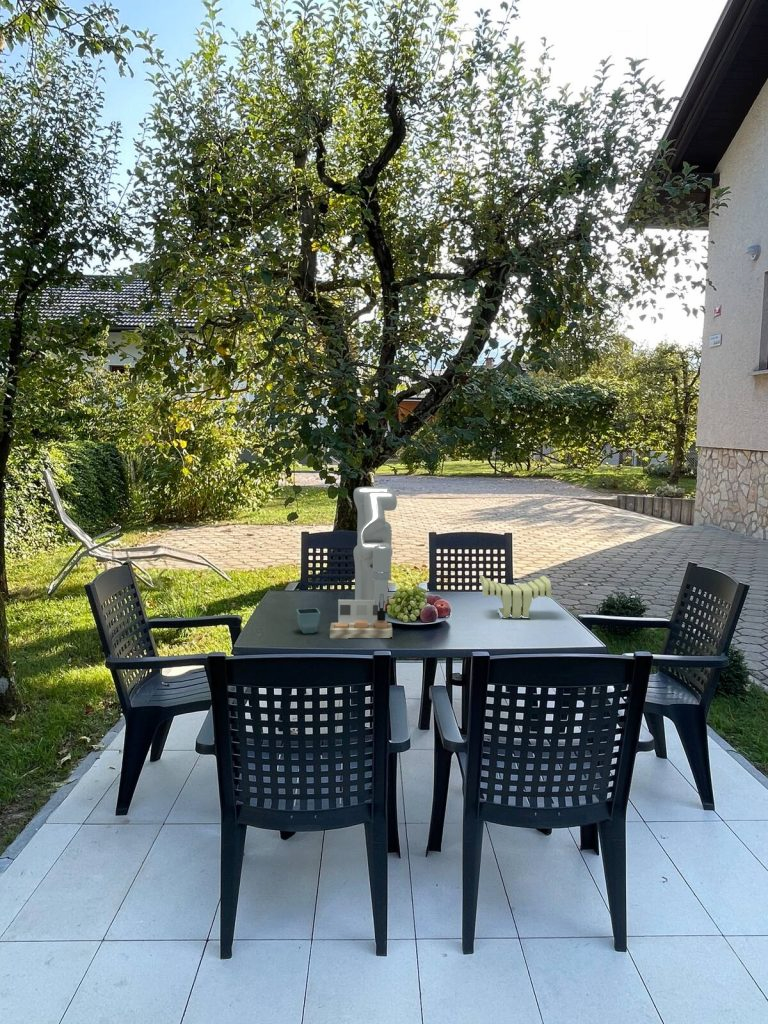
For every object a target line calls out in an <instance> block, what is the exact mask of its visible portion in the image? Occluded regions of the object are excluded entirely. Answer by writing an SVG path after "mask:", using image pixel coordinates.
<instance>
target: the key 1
mask: <svg viewBox="0 0 768 1024" xmlns="http://www.w3.org/2000/svg"><path fill="white" fill-rule="evenodd" d="M335 623H336V624H335V628H348V623H338V622H335Z"/></svg>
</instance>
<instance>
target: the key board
mask: <svg viewBox="0 0 768 1024" xmlns="http://www.w3.org/2000/svg"><path fill="white" fill-rule="evenodd" d="M336 623H337V622H331V623H330V628H329V639H348V638H390V637H392V638H393V626H392V625H393V624H392V622H387V628H375V623H367V628H355V623H348V628H335V624H336Z"/></svg>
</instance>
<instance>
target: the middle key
mask: <svg viewBox="0 0 768 1024" xmlns="http://www.w3.org/2000/svg"><path fill="white" fill-rule="evenodd" d="M355 628H367V620H355Z"/></svg>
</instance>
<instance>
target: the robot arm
mask: <svg viewBox="0 0 768 1024" xmlns="http://www.w3.org/2000/svg"><path fill="white" fill-rule="evenodd" d="M353 501H354V504H355V506H356V507H355V508H356V510H357V526H356V527H357V528H356V531H357V534H356V535H357V540H356V542H357V544H356V546H355V547H354V548H353V560H354V579H355V580H354V582H355V583H354V600H375V604H378V610H377V620H378V621H385V620H386V605H387V604H388V592H389V591H388V590H389V589H388V588H389V581H390V580H391V579H392V557H393V547H392V526H391V524H390V522H388V521H386V515H385V511H386V512H387V511H389V512H390V511H395V510H396V508H397V505H398V498H397V495H396V493H395V491H394V490H393V489H392V488H391V487H388V486H359V487H358V486H357V487H356V488H354V490H353ZM371 565H372V566H371Z"/></svg>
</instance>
